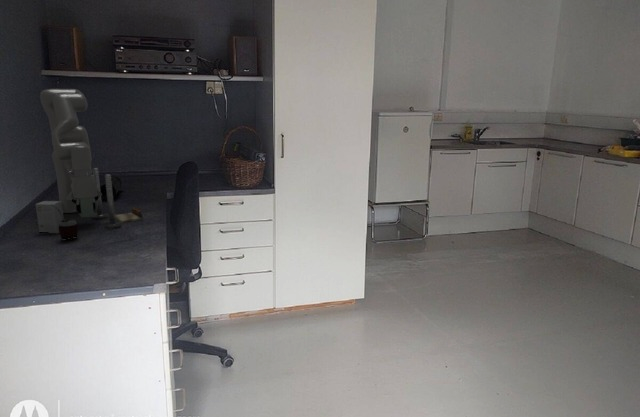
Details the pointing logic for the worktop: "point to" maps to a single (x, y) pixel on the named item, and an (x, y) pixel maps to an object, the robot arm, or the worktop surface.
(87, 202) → the green block
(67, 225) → the mate gourd
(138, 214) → the breaker board
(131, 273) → the worktop surface
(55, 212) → the small box
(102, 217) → the far post
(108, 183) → the near post
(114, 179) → the muzzle brake
